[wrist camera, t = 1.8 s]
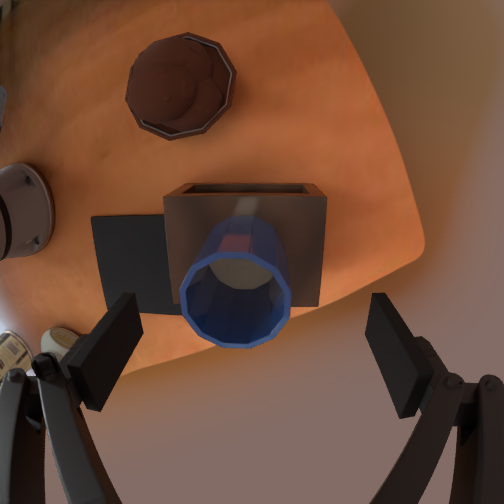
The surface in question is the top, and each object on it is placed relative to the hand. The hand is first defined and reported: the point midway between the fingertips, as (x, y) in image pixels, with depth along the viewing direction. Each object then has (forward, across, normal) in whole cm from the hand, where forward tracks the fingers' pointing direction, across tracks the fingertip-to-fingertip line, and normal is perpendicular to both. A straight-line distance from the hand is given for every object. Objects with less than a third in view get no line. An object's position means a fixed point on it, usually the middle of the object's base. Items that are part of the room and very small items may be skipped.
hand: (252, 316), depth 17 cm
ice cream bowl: (+24, -7, +15) cm, 29 cm away
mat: (+24, -18, -8) cm, 31 cm away
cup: (+15, -2, -2) cm, 15 cm away
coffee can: (+24, -54, -28) cm, 66 cm away
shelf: (+24, -2, -2) cm, 24 cm away
